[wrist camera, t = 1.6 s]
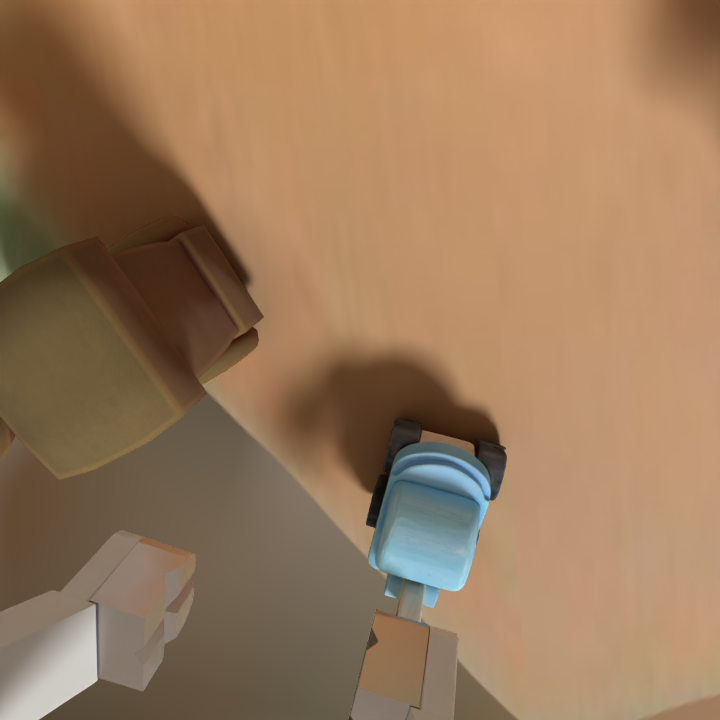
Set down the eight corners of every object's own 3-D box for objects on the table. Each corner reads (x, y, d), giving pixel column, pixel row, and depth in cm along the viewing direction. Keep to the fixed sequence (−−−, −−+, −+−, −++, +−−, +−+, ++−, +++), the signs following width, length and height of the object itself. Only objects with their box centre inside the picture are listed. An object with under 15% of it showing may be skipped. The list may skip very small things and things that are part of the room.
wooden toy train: (212, 187, 40) (46, 228, 25) (298, 324, 43) (194, 434, 28) (34, 311, 48) (-176, 400, 33) (117, 421, 50) (-42, 550, 35)
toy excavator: (356, 560, 51) (296, 754, 35) (399, 398, 44) (347, 552, 28) (450, 590, 50) (431, 803, 34) (510, 430, 43) (519, 607, 27)
